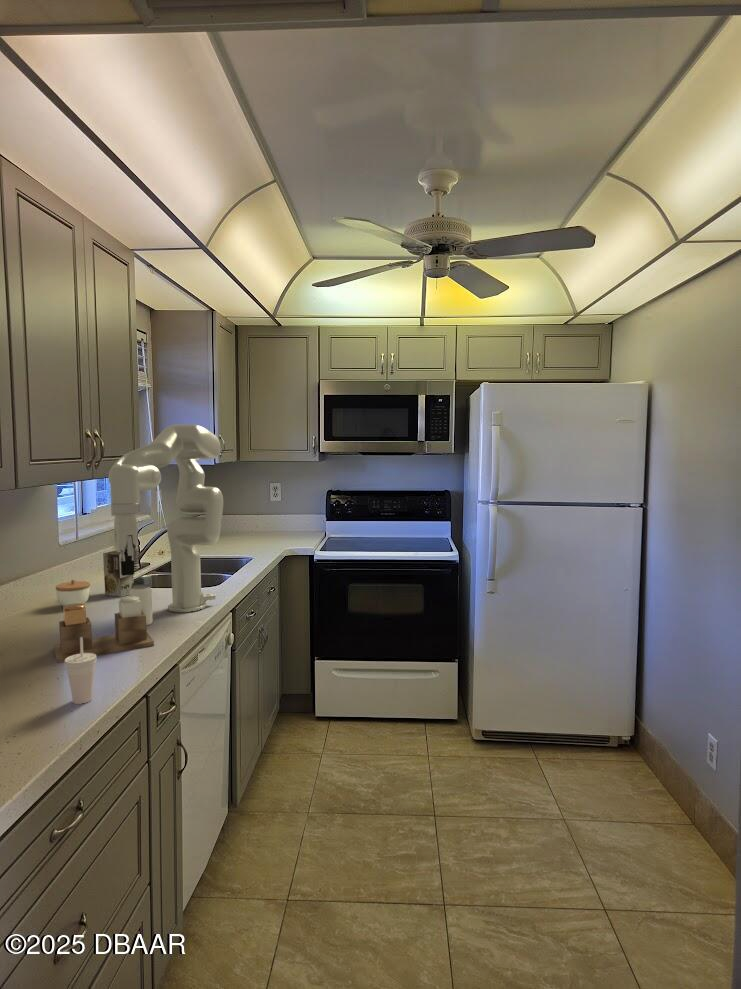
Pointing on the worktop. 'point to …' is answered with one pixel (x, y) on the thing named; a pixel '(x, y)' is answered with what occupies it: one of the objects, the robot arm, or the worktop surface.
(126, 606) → the pale plunger
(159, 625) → the worktop surface
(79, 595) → the lidded jar
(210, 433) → the robot arm
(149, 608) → the can
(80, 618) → the copper plunger
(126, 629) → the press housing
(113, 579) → the coffee box
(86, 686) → the smoothie
